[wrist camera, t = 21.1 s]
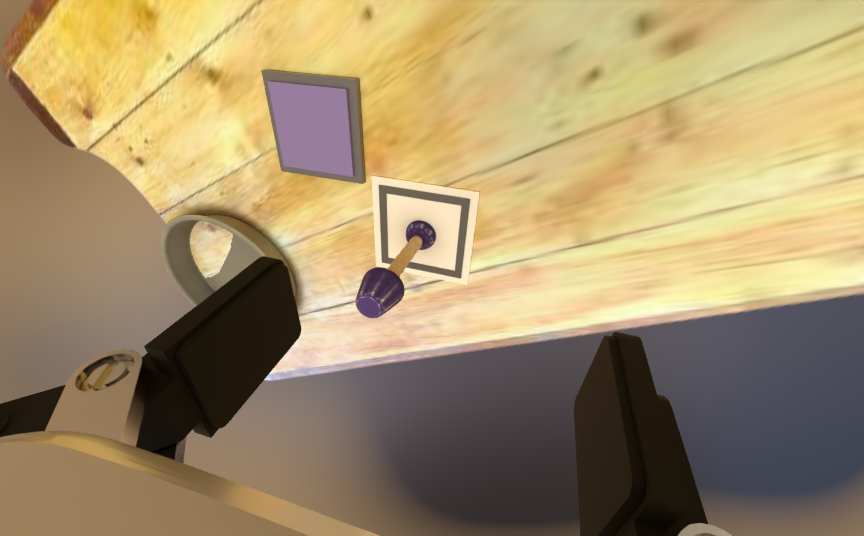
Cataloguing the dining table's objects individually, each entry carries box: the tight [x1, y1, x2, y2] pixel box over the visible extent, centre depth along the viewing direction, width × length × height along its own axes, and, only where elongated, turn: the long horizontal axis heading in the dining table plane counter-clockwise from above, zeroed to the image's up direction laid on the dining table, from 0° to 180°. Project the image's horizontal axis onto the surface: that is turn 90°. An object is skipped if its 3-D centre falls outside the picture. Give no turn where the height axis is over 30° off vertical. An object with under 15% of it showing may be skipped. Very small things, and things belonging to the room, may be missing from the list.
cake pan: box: [160, 215, 296, 307], centre depth 61 cm, size 25×25×4 cm
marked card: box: [372, 175, 480, 285], centre depth 48 cm, size 14×14×1 cm
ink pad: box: [262, 70, 366, 184], centre depth 44 cm, size 12×12×1 cm
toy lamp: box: [356, 220, 436, 318], centre depth 41 cm, size 5×5×17 cm
